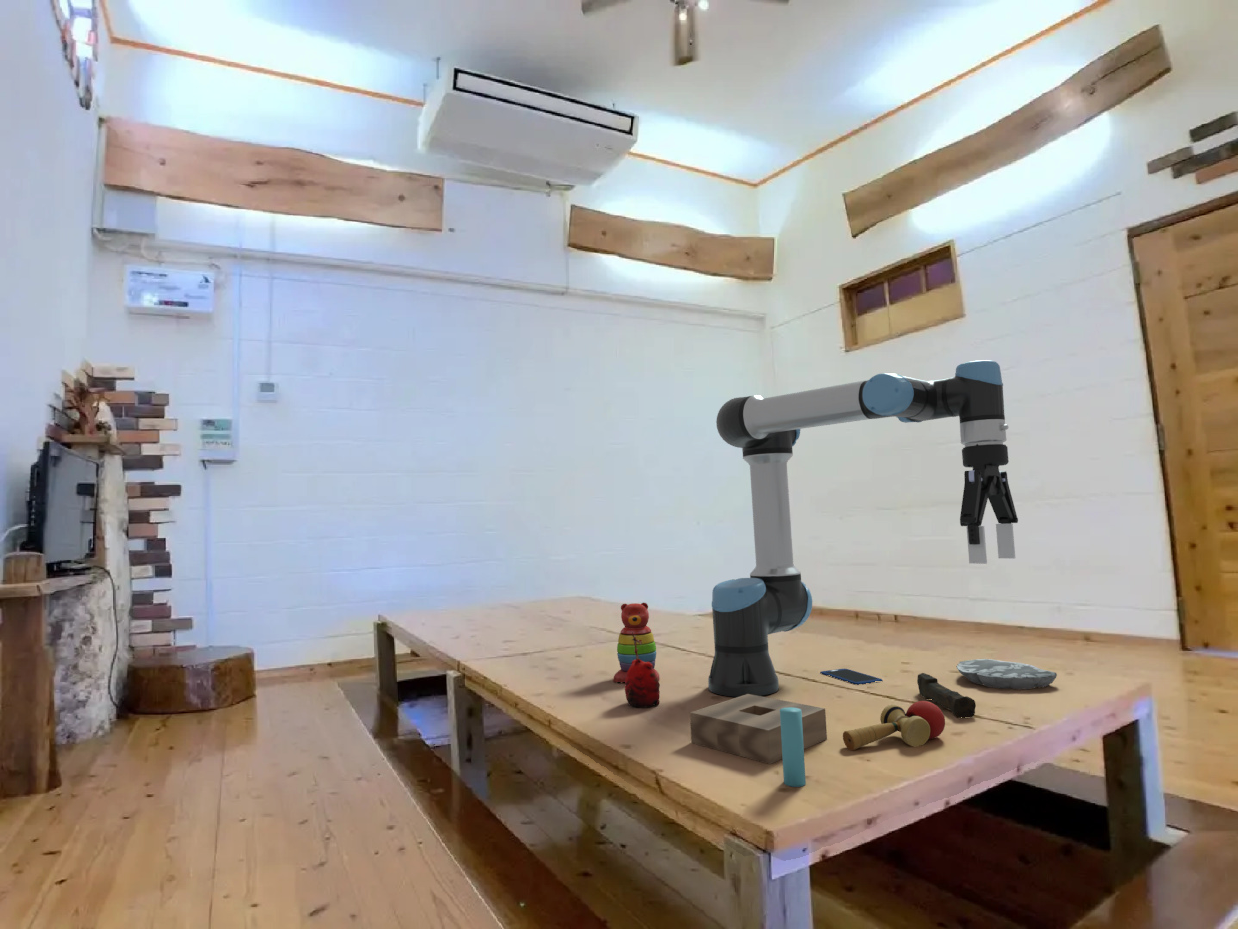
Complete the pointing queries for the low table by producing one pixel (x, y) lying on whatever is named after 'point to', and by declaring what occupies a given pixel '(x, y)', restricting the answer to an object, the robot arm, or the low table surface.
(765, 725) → the hole block
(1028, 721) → the low table surface
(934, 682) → the hand tool
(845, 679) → the cell phone
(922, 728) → the kendama
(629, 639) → the stacking bear
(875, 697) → the low table surface
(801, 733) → the peg
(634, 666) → the red clay folk toy
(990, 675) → the brain slice
